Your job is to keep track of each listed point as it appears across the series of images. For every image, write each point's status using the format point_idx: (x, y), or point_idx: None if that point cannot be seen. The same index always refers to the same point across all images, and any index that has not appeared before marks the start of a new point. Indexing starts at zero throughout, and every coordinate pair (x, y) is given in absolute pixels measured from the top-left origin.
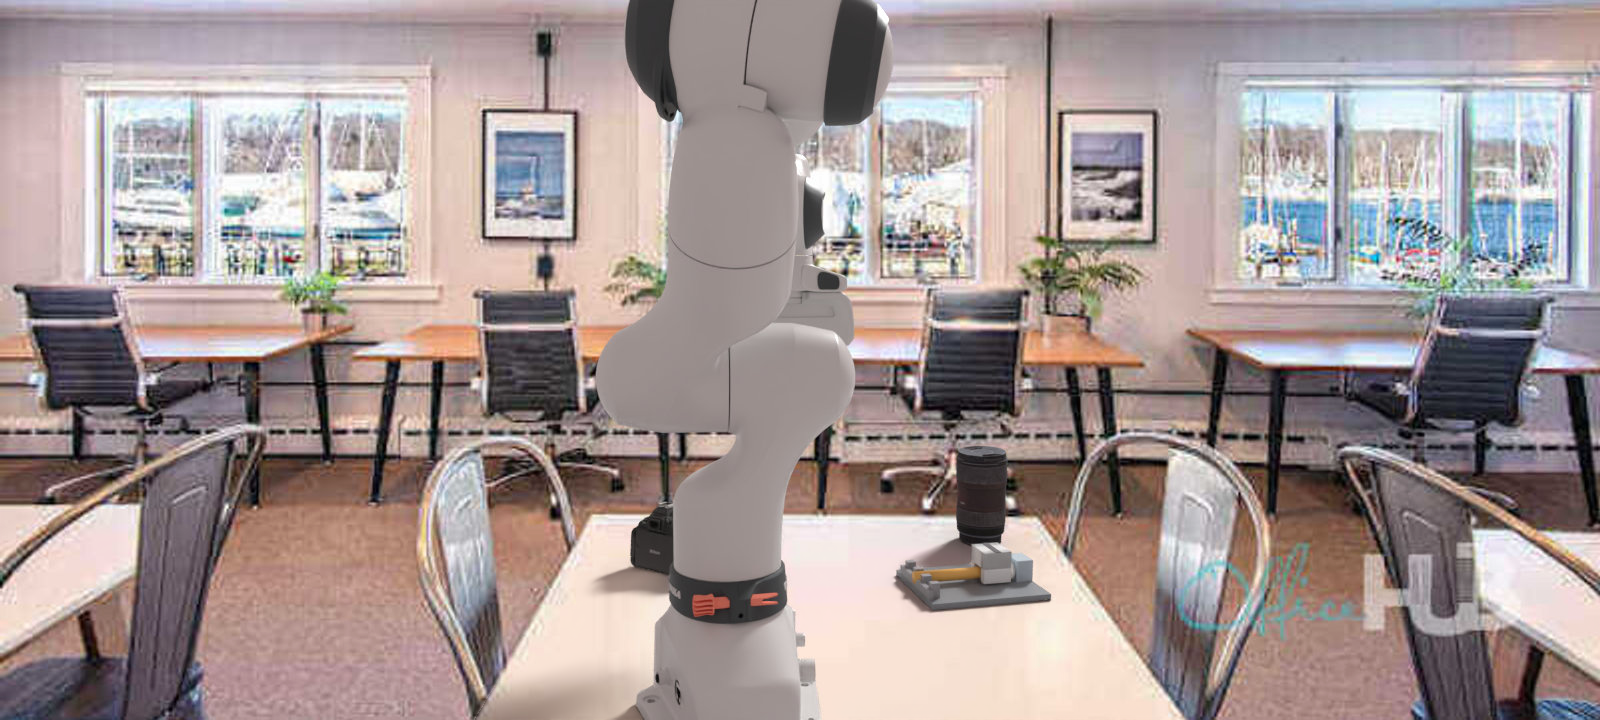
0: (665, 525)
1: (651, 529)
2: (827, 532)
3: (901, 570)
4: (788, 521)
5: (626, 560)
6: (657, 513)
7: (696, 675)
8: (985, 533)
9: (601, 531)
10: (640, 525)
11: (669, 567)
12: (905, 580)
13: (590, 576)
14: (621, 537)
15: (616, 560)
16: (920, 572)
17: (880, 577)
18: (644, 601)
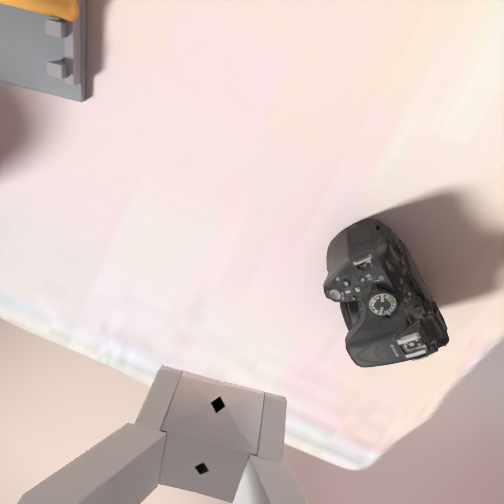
0: (424, 305)
1: (440, 313)
2: (117, 309)
3: (77, 79)
4: (151, 366)
5: None
6: (429, 336)
7: None
8: None
9: (391, 433)
10: (437, 343)
11: (410, 256)
12: (83, 54)
13: (501, 302)
14: (380, 406)
15: None
16: (57, 2)
17: (113, 104)
18: (495, 177)
